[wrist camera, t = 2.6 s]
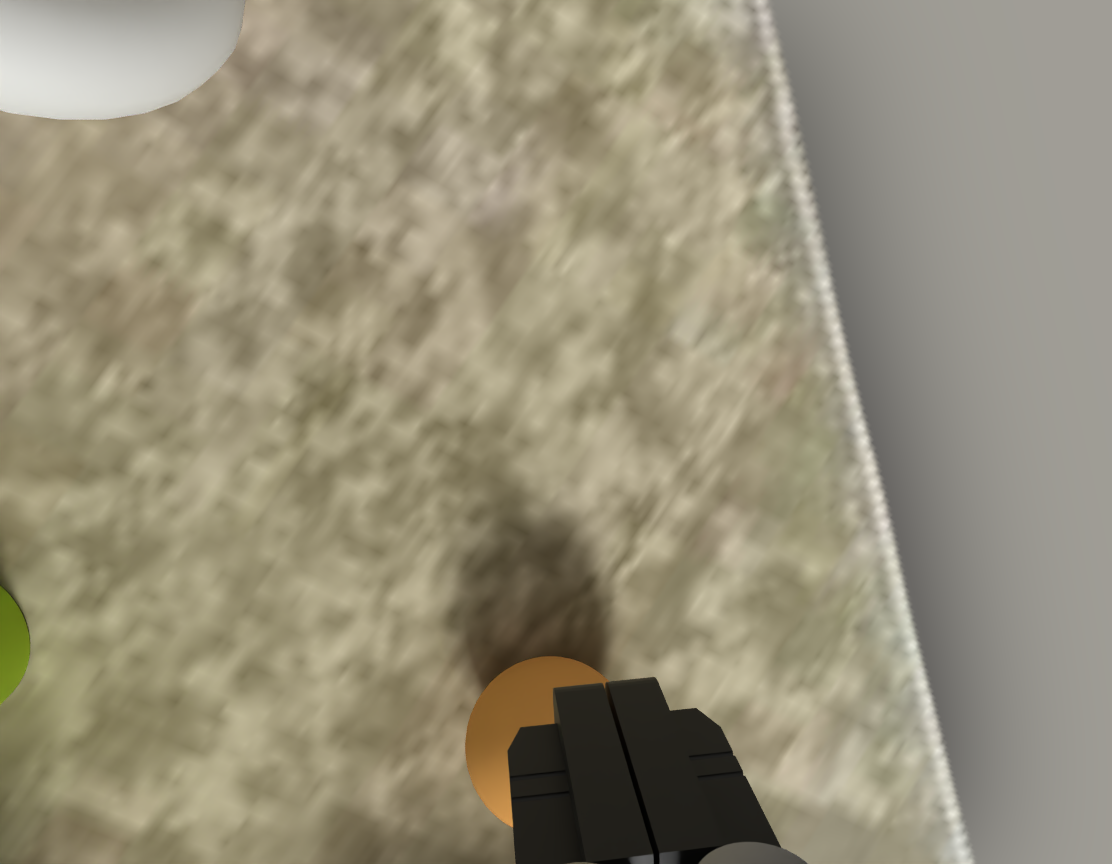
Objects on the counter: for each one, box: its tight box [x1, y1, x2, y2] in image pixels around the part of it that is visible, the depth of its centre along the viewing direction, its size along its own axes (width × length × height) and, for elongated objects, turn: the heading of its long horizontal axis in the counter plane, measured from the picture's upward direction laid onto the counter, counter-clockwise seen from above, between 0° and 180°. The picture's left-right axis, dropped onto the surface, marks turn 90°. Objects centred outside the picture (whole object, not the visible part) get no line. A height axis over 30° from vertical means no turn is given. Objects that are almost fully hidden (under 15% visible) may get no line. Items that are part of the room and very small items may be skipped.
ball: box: [465, 656, 609, 828], centre depth 28 cm, size 6×6×6 cm
